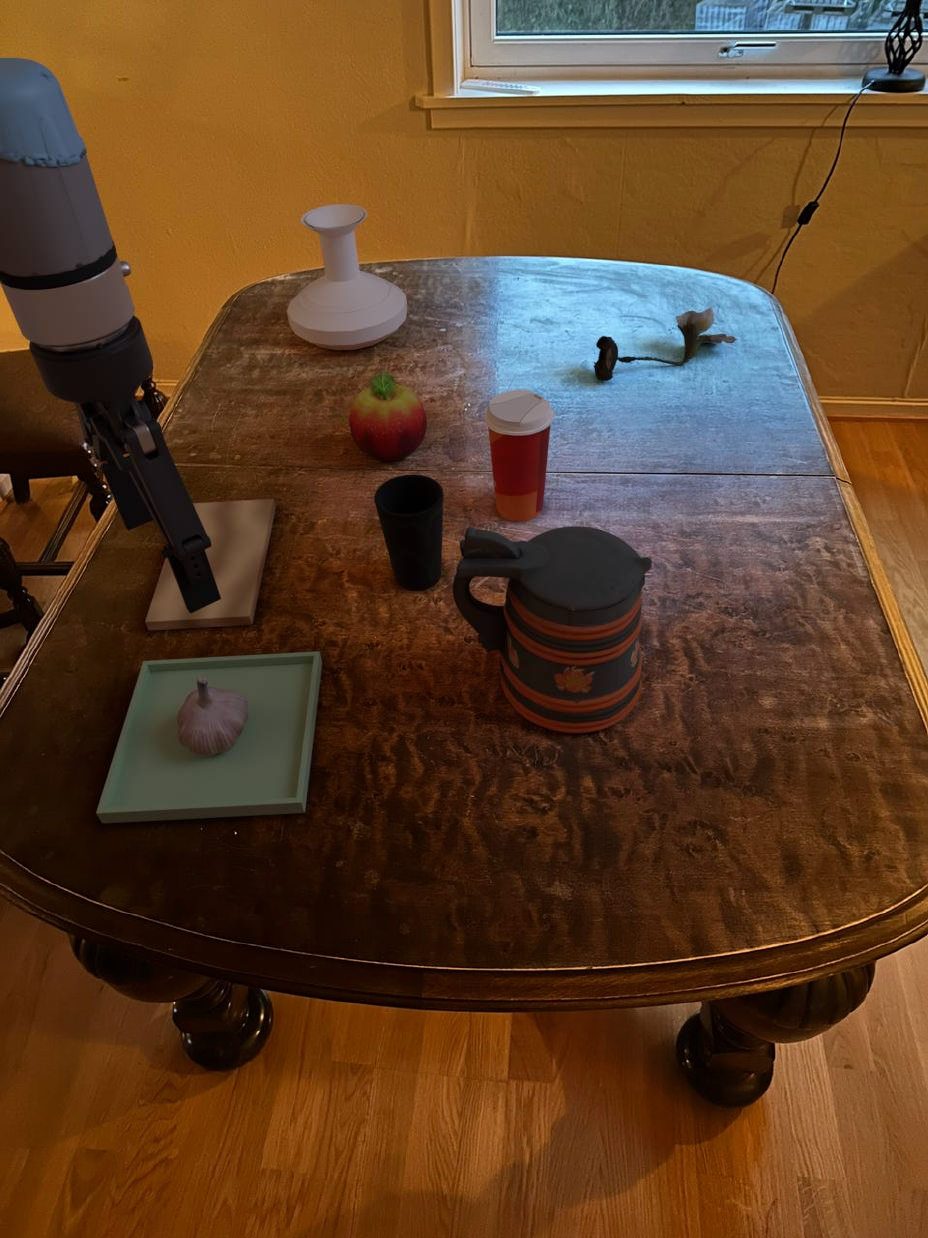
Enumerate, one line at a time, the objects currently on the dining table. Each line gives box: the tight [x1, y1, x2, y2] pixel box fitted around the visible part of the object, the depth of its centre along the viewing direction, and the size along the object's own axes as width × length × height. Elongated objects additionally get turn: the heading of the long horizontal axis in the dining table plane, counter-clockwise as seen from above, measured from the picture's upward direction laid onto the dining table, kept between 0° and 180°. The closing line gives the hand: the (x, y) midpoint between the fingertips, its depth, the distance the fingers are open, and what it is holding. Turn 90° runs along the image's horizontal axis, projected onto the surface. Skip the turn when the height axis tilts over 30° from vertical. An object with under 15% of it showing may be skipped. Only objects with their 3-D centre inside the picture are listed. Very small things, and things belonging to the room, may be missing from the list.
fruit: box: [348, 370, 428, 462], centre depth 122 cm, size 11×11×10 cm
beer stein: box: [452, 525, 653, 734], centre depth 86 cm, size 19×15×20 cm
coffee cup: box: [484, 389, 555, 522], centre depth 109 cm, size 8×8×15 cm
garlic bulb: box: [177, 677, 248, 757], centre depth 87 cm, size 8×7×8 cm
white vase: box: [286, 203, 408, 351], centre depth 144 cm, size 20×20×19 cm
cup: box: [373, 473, 445, 592], centre depth 102 cm, size 8×8×12 cm
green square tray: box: [95, 651, 323, 824], centre depth 89 cm, size 19×19×2 cm
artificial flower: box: [593, 306, 738, 382], centre depth 136 cm, size 9×22×10 cm, turn 106°
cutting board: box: [144, 498, 277, 632], centre depth 109 cm, size 12×22×2 cm, turn 2°
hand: (171, 561), depth 75 cm, fingers open, 13 cm apart
